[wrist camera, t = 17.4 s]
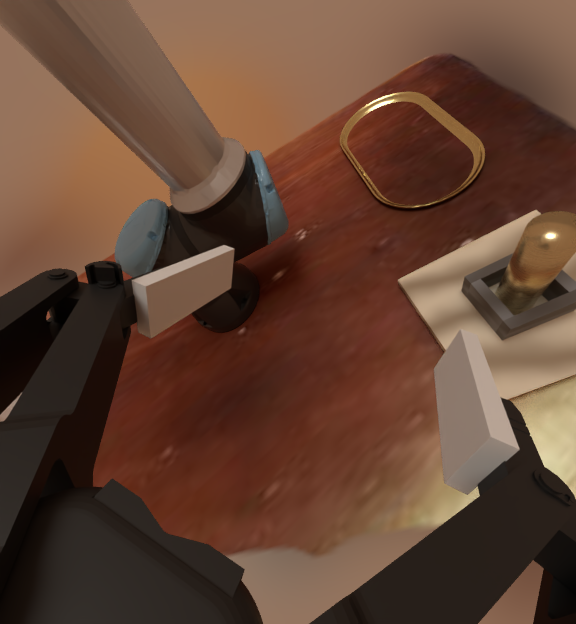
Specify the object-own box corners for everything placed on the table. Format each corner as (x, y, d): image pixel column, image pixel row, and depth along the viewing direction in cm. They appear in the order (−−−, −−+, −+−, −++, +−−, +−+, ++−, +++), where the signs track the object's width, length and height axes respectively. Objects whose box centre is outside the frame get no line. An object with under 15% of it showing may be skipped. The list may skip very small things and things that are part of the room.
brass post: (485, 296, 35) (513, 228, 24) (517, 281, 35) (561, 203, 23) (507, 320, 33) (549, 259, 22) (542, 305, 32) (604, 233, 21)
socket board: (398, 284, 43) (395, 266, 38) (532, 217, 38) (546, 187, 34) (482, 408, 32) (491, 403, 28) (680, 336, 28) (730, 316, 23)
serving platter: (406, 87, 61) (405, 79, 59) (510, 173, 43) (512, 164, 41) (330, 135, 65) (328, 129, 64) (395, 230, 47) (394, 225, 46)
